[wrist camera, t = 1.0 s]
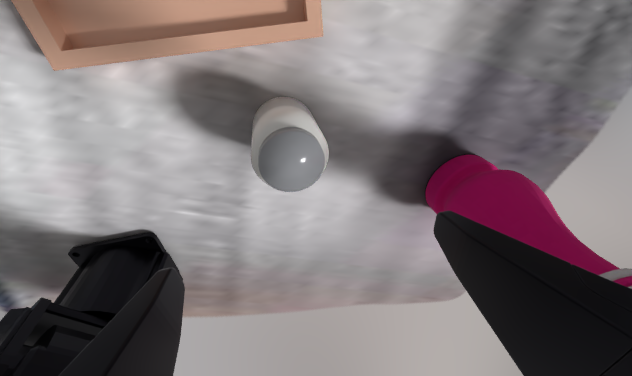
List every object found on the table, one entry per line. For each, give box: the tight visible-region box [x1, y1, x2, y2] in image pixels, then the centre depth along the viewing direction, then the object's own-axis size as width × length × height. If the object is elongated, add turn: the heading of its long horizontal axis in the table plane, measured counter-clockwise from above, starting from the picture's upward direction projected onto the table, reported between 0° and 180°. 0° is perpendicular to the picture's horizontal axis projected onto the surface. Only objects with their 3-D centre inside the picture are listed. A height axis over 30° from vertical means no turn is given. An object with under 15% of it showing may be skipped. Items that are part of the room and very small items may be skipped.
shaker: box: [251, 97, 329, 192], centre depth 16 cm, size 4×4×6 cm
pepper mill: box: [425, 155, 632, 289], centre depth 16 cm, size 7×7×20 cm
